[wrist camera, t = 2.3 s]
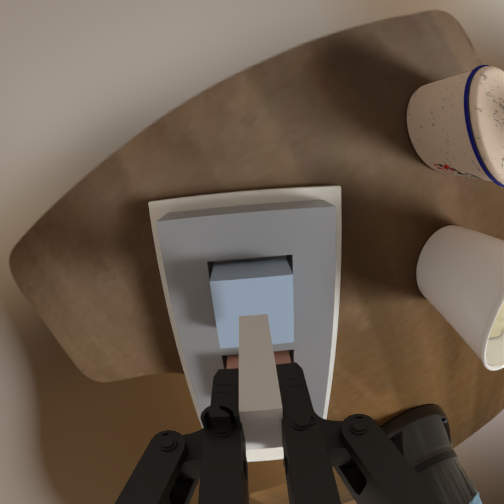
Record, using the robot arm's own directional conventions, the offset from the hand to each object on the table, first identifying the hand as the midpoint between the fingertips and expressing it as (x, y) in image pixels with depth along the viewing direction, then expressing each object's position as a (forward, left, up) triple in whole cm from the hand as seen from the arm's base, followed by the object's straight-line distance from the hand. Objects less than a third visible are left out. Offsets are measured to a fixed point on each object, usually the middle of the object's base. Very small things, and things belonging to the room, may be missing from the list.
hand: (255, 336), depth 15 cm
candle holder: (-1, -20, -10) cm, 22 cm away
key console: (-8, 0, -9) cm, 12 cm away
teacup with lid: (+13, -20, -10) cm, 26 cm away
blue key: (0, 0, -6) cm, 6 cm away
